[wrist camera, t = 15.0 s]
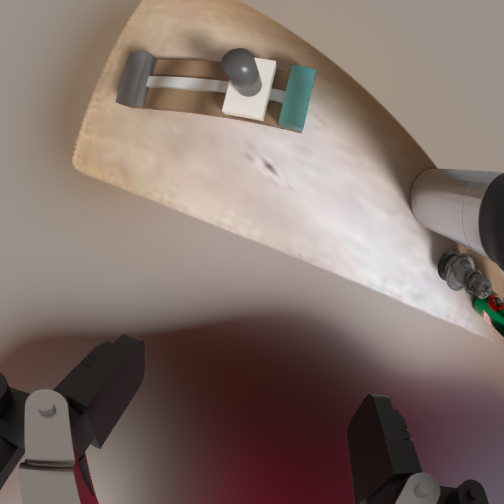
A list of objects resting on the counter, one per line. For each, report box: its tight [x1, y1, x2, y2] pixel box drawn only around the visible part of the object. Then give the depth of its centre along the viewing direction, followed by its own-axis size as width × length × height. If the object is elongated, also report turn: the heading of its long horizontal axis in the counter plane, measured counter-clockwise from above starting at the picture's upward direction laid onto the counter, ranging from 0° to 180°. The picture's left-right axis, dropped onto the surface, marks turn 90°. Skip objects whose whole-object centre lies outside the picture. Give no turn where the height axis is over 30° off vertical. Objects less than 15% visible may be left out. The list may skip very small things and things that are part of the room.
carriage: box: [222, 48, 277, 121], centre depth 27 cm, size 5×8×10 cm, turn 168°
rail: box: [116, 52, 316, 133], centre depth 33 cm, size 26×8×5 cm, turn 78°
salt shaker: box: [438, 250, 492, 299], centre depth 32 cm, size 6×6×12 cm
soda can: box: [474, 290, 504, 338], centre depth 33 cm, size 5×5×12 cm
